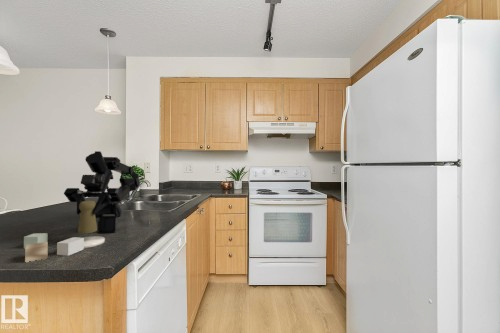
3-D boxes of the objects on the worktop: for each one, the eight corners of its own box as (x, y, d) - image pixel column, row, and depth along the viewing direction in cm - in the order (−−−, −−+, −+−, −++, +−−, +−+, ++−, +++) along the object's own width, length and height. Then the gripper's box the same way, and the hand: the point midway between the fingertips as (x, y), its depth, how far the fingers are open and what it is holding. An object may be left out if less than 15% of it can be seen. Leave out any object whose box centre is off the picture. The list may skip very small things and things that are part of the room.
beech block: (47, 254, 78) (47, 241, 78) (47, 258, 74) (47, 245, 74) (26, 257, 74) (26, 244, 74) (25, 262, 71) (25, 249, 71)
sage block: (47, 244, 87) (47, 233, 87) (37, 248, 83) (37, 236, 83) (34, 244, 87) (34, 233, 87) (23, 248, 82) (23, 236, 82)
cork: (78, 230, 90) (78, 200, 89) (98, 228, 92) (98, 199, 92) (76, 234, 84) (76, 202, 84) (96, 232, 87) (96, 201, 87)
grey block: (73, 248, 83) (73, 237, 83) (83, 249, 82) (83, 237, 82) (56, 255, 77) (57, 242, 77) (68, 256, 76) (68, 243, 76)
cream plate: (108, 238, 95) (108, 235, 95) (98, 247, 84) (98, 244, 84) (76, 239, 92) (76, 237, 92) (61, 249, 82) (61, 246, 82)
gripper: (66, 166, 91) (45, 200, 80) (119, 167, 93) (105, 200, 82) (79, 185, 99) (61, 218, 88) (127, 185, 101) (115, 218, 90)
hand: (85, 213), depth 87 cm, fingers closed on cork, 5 cm apart
